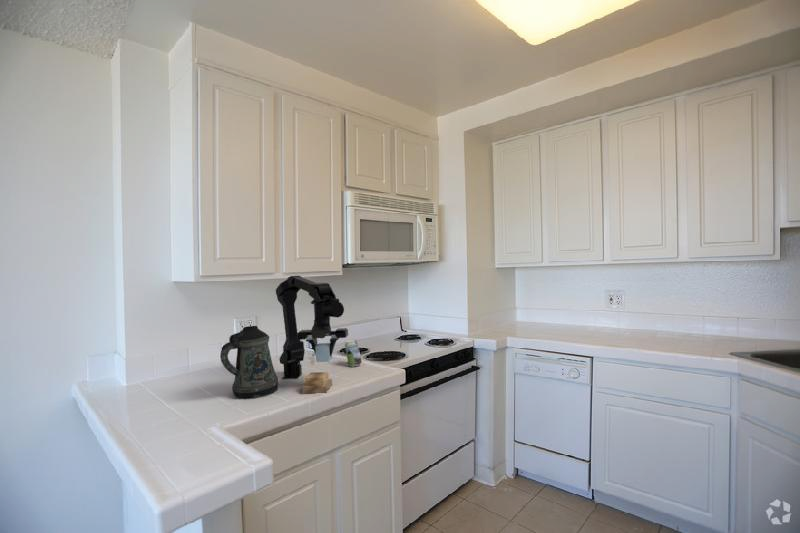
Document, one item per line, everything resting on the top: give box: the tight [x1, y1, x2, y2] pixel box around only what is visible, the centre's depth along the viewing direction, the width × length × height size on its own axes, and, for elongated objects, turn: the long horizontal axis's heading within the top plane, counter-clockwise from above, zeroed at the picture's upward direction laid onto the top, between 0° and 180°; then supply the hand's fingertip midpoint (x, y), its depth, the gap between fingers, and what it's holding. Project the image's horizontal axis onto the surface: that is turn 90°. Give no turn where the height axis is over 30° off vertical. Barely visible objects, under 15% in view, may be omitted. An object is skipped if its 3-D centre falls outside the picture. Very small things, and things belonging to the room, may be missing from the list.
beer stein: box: [219, 325, 279, 400], centre depth 143 cm, size 16×19×25 cm
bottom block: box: [301, 378, 333, 395], centre depth 144 cm, size 9×9×3 cm
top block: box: [304, 371, 330, 386], centre depth 144 cm, size 7×7×3 cm
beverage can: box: [344, 339, 362, 368], centre depth 175 cm, size 6×7×12 cm
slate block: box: [315, 342, 333, 363], centre depth 146 cm, size 5×5×6 cm
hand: (324, 356), depth 146 cm, fingers closed on slate block, 5 cm apart
